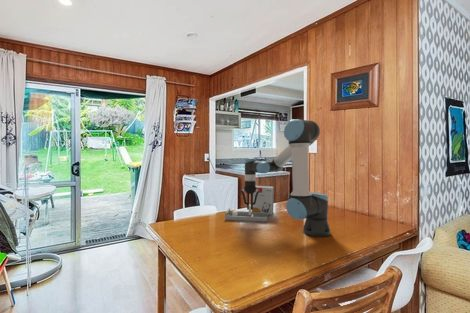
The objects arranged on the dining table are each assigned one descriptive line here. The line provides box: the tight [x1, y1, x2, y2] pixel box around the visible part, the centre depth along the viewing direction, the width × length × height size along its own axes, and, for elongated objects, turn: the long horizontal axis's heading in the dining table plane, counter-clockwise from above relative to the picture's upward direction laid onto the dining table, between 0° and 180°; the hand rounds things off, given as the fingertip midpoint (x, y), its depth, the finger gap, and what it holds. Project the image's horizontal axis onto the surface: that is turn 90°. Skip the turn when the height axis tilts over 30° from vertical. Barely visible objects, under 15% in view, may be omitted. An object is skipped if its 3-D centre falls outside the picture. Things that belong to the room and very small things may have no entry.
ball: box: [232, 210, 238, 216], centre depth 179 cm, size 4×4×4 cm
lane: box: [224, 207, 269, 223], centre depth 177 cm, size 28×14×5 cm, turn 81°
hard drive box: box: [251, 185, 275, 216], centre depth 192 cm, size 16×8×20 cm, turn 73°
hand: (249, 214), depth 177 cm, fingers closed
